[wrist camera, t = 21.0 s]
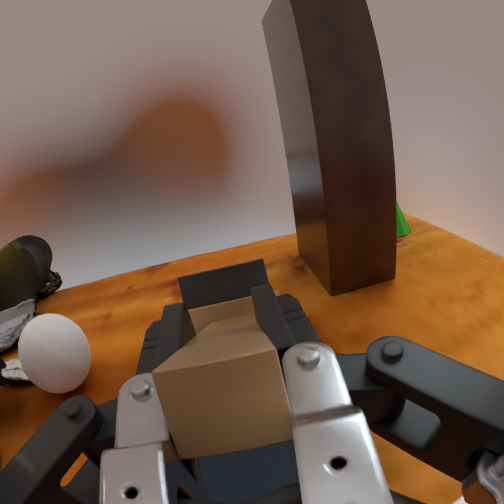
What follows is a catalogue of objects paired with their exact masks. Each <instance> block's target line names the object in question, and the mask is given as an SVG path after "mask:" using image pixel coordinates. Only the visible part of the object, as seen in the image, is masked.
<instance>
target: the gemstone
mask: <svg viewBox="0 0 504 504" xmlns="http://www.w3.org/2000/svg"><path fill="white" fill-rule="evenodd" d="M396 210H397V237H398V236H405V235H407V234H408V233H409V232H410V231H411V230H410V228H409V226H408V224H407V222H406V220H405V218H404V216H403V214H402V211H401V209H400V207H399V206H398V204H397V202H396Z"/></svg>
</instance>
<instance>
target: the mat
mask: <svg viewBox="0 0 504 504" xmlns="http://www.w3.org/2000/svg"><path fill="white" fill-rule="evenodd" d="M199 463H200V467H201V472H202V477H203V481H204V485H205V488H206V491H207V493H208V495H209V497H210V499H211V501H214V502H223V503H234V504H240V503H245V502H247V501H250V500H253V499H255V498H258V497H260V496H262V495H265V494H267V493H270V492H272V491H274V490H276V489H279V488H281V487H283V486H285V485H288V484H293V483H297V482H299V475H298V468H297V460H296V453H295V446H294V440H290V441H286V442H282V443H278V444H274V445H269V446H265V447H260V448H255V449H250V450H245V451H239V452H234V453H228V454H221V455H214V456H207V457H199Z"/></svg>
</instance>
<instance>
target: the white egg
mask: <svg viewBox="0 0 504 504" xmlns="http://www.w3.org/2000/svg"><path fill="white" fill-rule="evenodd" d="M20 332H21V331H20ZM18 357H19V360H20V363H21V366H22V369H23V371H24V372H25V374H26V375H27V377H28V378H29V379H30V381H31V382H32V383H34V384H35V385H37V386H38V387H39V388H41V389H43V390H45V391H47V392H50V393H66V392H69V391H72V390H74V389H75V388H77V387H78V386H79V385H81V384H82V383H83V381H84V380H85V378H86V376H87V375H88V373H89V369H90V365H91V348H90V346H89V343H88V340H87V337H86V336H85V334H84V333H83V331H82V330H81V328H80V327H79V326H78V325H77V324H76V323H74V322H73V321H72V320H70V319H69V318H67V317H64V316H62V315H60V314H50V313H47V314H43V315H40V316H37V317H35V318H34V319H32V320H31V321H29V322H28V323H27V325H26V326H25V327H24V329H23V330H22V332H21V335H20V338H19V342H18Z"/></svg>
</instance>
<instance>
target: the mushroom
mask: <svg viewBox="0 0 504 504" xmlns="http://www.w3.org/2000/svg"><path fill="white" fill-rule="evenodd" d="M1 350H2V348H0V352H1ZM5 368H6V363H5V362H4V361H3V360H2V358H1V355H0V385H1V386H5V387H6V388H9V386H10V384H9V382H8V381H6V379H5V378H4V377H3V376H2V369H5Z"/></svg>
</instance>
